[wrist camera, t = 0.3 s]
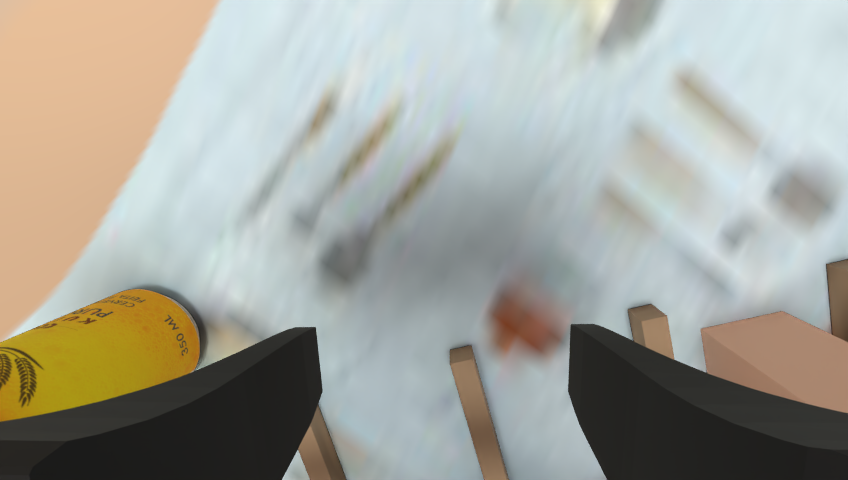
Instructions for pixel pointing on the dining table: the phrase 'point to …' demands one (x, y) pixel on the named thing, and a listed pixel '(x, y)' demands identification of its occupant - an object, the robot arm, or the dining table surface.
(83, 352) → the beer can
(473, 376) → the brown open frame
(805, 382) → the terracotta block
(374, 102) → the dining table surface
